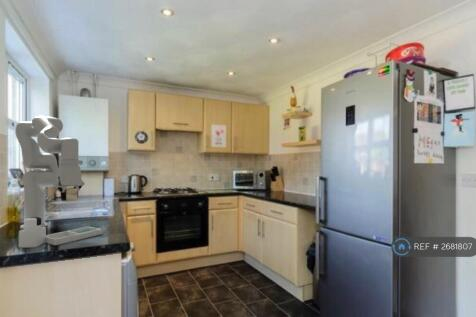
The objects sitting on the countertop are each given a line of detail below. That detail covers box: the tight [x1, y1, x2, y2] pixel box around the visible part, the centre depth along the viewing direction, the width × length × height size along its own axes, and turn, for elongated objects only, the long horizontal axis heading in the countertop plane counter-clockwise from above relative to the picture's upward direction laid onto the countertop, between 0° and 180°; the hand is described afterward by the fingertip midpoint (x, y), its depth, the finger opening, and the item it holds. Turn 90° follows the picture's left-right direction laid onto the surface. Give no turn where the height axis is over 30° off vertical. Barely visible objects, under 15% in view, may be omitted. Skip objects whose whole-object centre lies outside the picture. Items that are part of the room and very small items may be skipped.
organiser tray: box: [45, 226, 103, 246], centre depth 134 cm, size 12×22×2 cm, turn 151°
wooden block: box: [60, 187, 78, 202], centre depth 138 cm, size 5×5×6 cm
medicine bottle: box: [18, 217, 47, 249], centre depth 122 cm, size 7×7×12 cm
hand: (69, 199), depth 138 cm, fingers closed on wooden block, 5 cm apart
